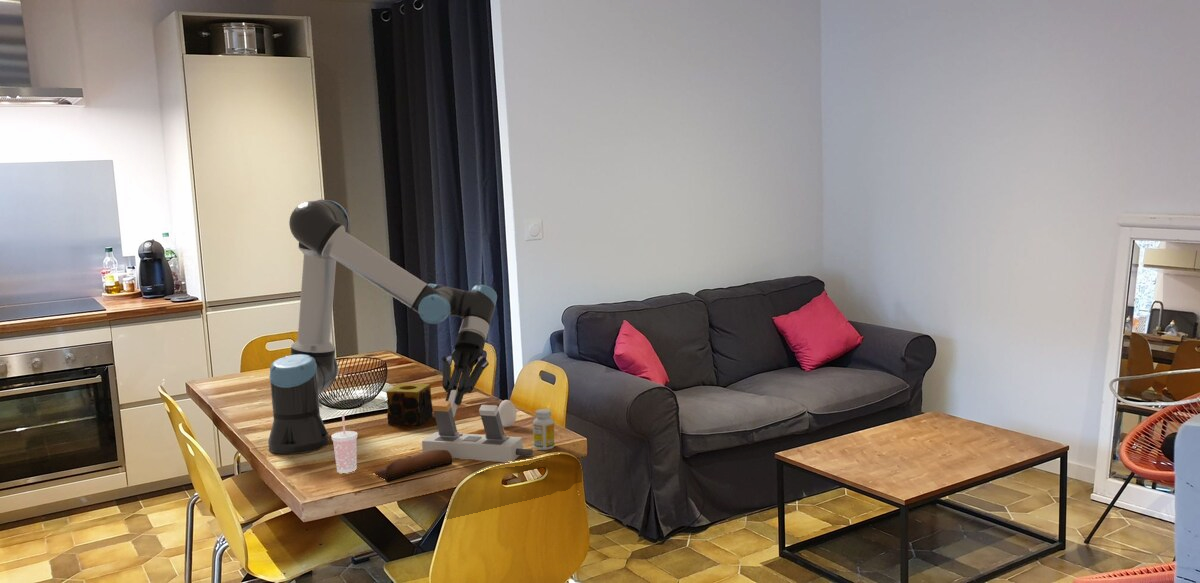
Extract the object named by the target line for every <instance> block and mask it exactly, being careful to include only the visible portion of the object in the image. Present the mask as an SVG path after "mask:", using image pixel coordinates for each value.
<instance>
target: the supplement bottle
mask: <svg viewBox="0 0 1200 583" xmlns="http://www.w3.org/2000/svg"><path fill="white" fill-rule="evenodd" d="M534 415H535V417H536V418H534V419H533V421H532V425H533V426H532V427H533V428H532V429H533V430H532V432H533V435H532V438H533V448H534V449H535V450H538V451H546V450H547V451H548V450H552V449H553V448H554V447H555V422H554V419H553V418H552V410H550V409H548V408H542V409H541V408H540V409H537V410H535V414H534Z"/></svg>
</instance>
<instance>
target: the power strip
mask: <svg viewBox="0 0 1200 583" xmlns="http://www.w3.org/2000/svg"><path fill="white" fill-rule="evenodd" d="M438 432H439V431H435V432H434V433H432V434H430V435H429V436H427V437H425V438H424V439H422V440H421V447H422V452H426V451H431V450H447V451H448V452H449V453H450V454H451V456H452V459H455V458H460V459H459V460H468V459H476V460H475V461H483V462H486V461H487V462H496V463H497V462H499V463H509V462H508V461H512V462H514V461H515V460H516V459H517V458H518V457H520V456H525V457H533V455H534V449H532V448H530V449H529V448H524V444H523V441H524V440H523V437H522V436H511V435H510V436H508V435H506V440H495V439H486V438H485V435H486V434H480V433H479V434H477V433H460V432H459V436H458V437H452V436H439V435H438ZM513 460H514V461H513Z"/></svg>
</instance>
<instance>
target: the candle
mask: <svg viewBox="0 0 1200 583" xmlns="http://www.w3.org/2000/svg"><path fill="white" fill-rule="evenodd" d="M431 388H432V386H431V384H430V383H399V384H397V385H395V386H393V387H392V388H390V389H388V390H386V391H385V392H386V393H385V394H386V398H387V402H386V404H387V414H386V416H387V425H389V426H415V427H420V426H422V425H423V424H425V423H426V422H427V421H429V420H430V419H431V418H433V413H434V411H433V408H432V405H433V401H432V394H431V393H432V390H431Z"/></svg>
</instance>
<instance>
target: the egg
mask: <svg viewBox="0 0 1200 583" xmlns="http://www.w3.org/2000/svg"><path fill="white" fill-rule="evenodd" d="M498 410H499V415H500V419H501V423H502V426H503V428H509V427H511V426H513V425H514V423H515V422H516V419H517V408H516V406H515V405H514V404H513V402H512V401H511V400H509V399H504V400H502V401H501V402H500V403H499V406H498Z"/></svg>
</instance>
